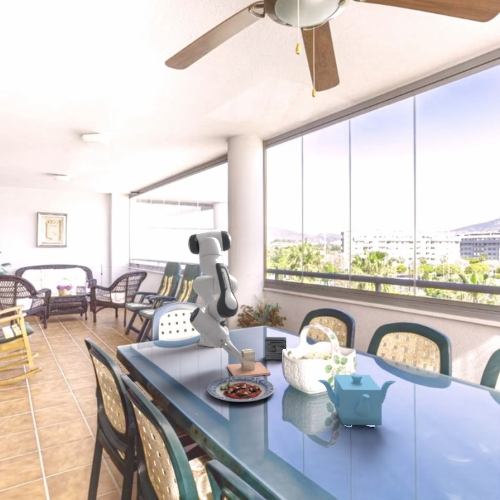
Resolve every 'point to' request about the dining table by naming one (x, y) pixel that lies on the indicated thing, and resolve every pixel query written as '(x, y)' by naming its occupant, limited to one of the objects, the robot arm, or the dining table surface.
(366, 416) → the teakettle
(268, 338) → the small box
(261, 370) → the terracotta tile
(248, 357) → the ash block
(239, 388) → the ceramic plate
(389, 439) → the dining table surface
